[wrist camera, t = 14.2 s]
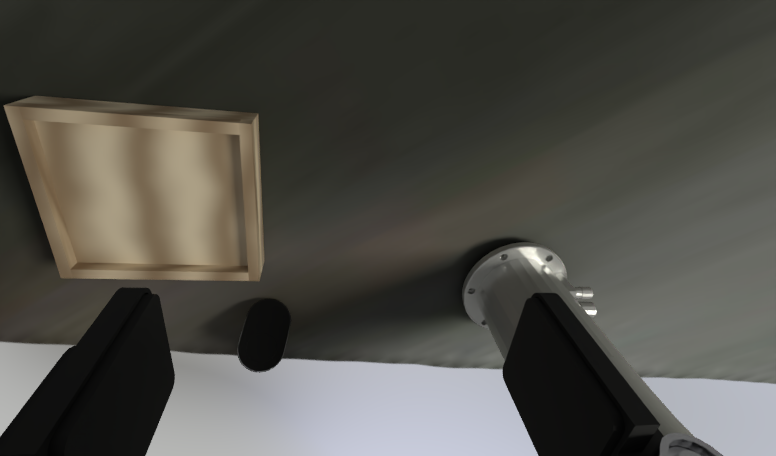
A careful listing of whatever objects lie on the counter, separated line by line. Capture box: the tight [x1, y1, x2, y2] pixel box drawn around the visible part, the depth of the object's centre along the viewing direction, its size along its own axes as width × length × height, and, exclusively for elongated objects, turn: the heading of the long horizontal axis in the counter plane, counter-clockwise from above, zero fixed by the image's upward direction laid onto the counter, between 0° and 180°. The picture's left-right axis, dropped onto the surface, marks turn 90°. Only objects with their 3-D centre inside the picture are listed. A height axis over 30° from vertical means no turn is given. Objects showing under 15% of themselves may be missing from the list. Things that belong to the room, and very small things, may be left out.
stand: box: [237, 299, 291, 372], centre depth 48 cm, size 8×5×8 cm
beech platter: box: [4, 96, 264, 281], centre depth 37 cm, size 18×16×4 cm
